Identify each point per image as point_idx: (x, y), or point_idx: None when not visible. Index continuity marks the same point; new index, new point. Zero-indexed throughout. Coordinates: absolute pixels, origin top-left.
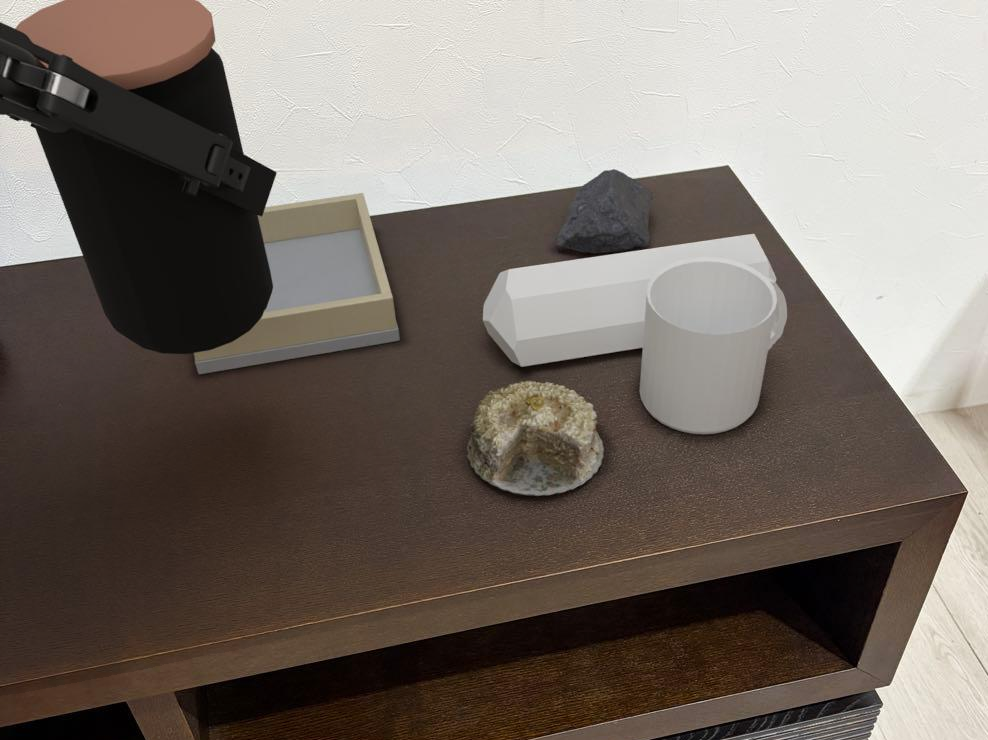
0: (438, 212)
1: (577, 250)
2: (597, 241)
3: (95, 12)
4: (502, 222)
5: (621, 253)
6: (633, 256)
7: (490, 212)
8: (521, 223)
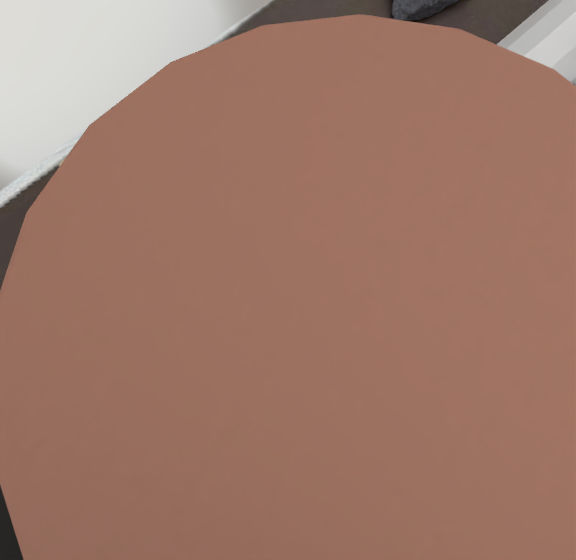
0: (260, 22)
1: (418, 19)
2: (438, 4)
3: (210, 245)
4: (324, 10)
5: (549, 34)
6: (558, 32)
7: (305, 2)
8: (341, 5)
